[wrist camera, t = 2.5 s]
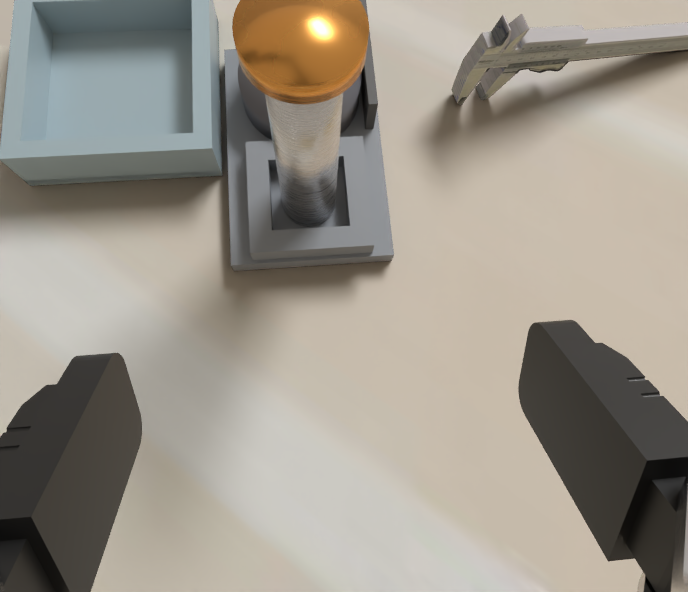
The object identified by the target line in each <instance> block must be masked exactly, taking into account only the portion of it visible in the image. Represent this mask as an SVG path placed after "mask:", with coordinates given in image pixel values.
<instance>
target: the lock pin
mask: <svg viewBox="0 0 688 592" xmlns="http://www.w3.org/2000/svg"><path fill="white" fill-rule="evenodd" d="M232 29H233V37H234V41H235V46H236V51H237V55H238V59H239V63H240V66H241V68H242V71H243V72H244V74H245V76H246V77H247V79H248V80H249V81H250V82H251V83H252V84H253V85H254V86H255V87H256V88H257V89H258V90H260V91H261V92H263V93H264V94H265V98H266V104H267V110H268V116H269V122H270V129H271V135H272V141H273V147H274V154H275V160H276V166H277V172H278V179H279V185H280V191H281V197H282V204H283V208H284V211H285V213H286V215H287V216H288V217H289V218H290V219H291V220H292V221H293V222H295V223H297V224H299V225H302V226H316V225H319V224H322V223H323V222H325V221H326V220H327V219H329V217H330V216H331V215H332V213H333V211H334V208H335V201H336V187H337V173H338V159H339V144H340V130H341V116H342V102H343V92H344V91H346V90H347V89H348V88H349V87H351V86H352V85H353V83H354V82H355V81H356V80H357V78H358V77H359V75H360V74H361V72H362V69H363V67H364V64H365V60H366V52H367V44H368V36H369V22H368V17H367V14H366V11H365V9H364V7H363V5H362V3H361V2H360V0H240V2H239V4H238V5H237V8H236V10H235V13H234V17H233V26H232Z"/></svg>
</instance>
